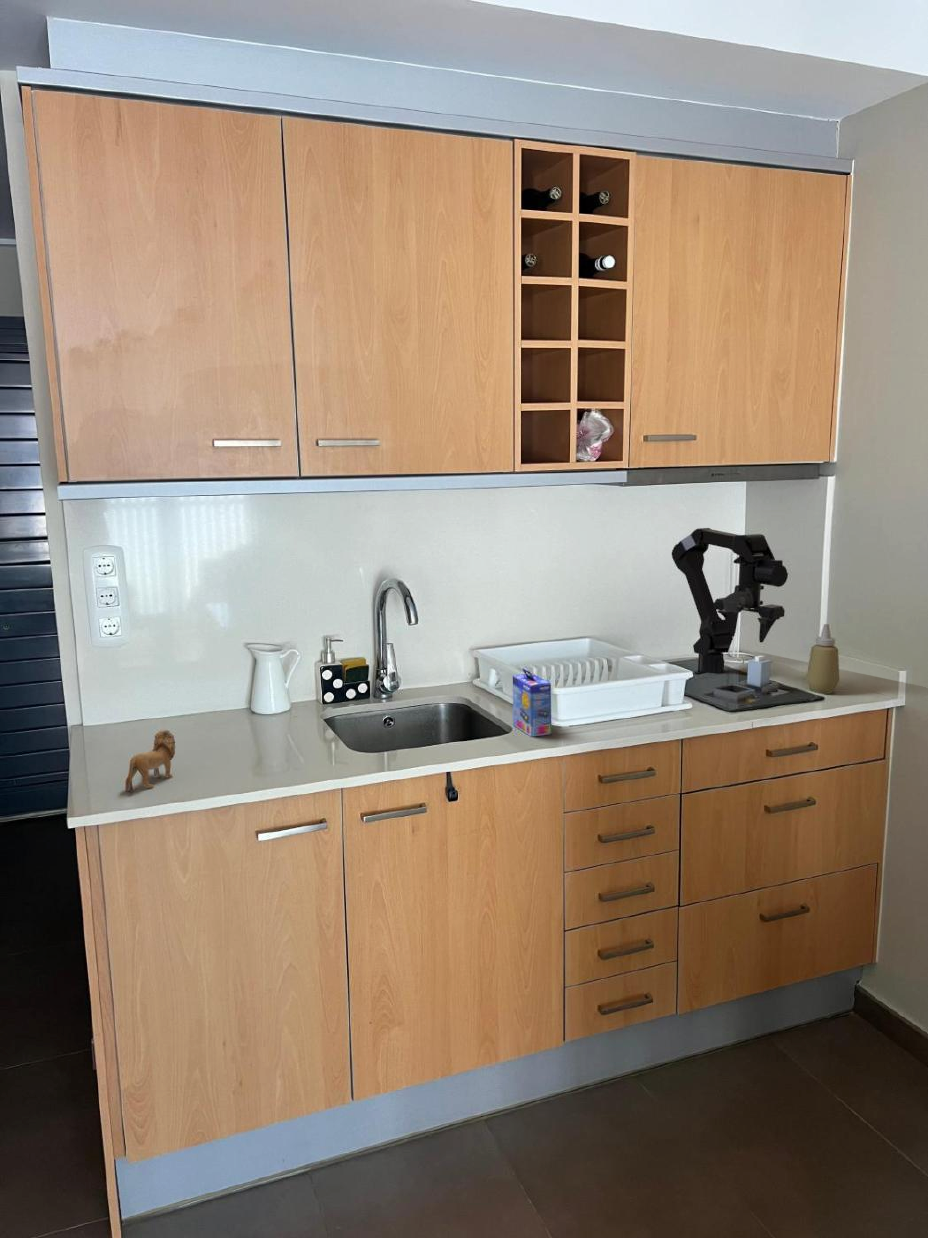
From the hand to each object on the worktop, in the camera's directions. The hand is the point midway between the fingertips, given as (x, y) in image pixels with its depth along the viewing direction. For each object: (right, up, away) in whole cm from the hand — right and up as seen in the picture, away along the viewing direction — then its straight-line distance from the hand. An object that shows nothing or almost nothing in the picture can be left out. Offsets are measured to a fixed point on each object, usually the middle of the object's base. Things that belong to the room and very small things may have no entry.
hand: (746, 639), depth 252 cm
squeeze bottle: (+18, -14, -5) cm, 23 cm away
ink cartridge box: (-60, -20, -36) cm, 73 cm away
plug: (+1, -13, -7) cm, 15 cm away
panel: (-3, -15, -10) cm, 18 cm away
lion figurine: (-137, -27, -68) cm, 155 cm away
